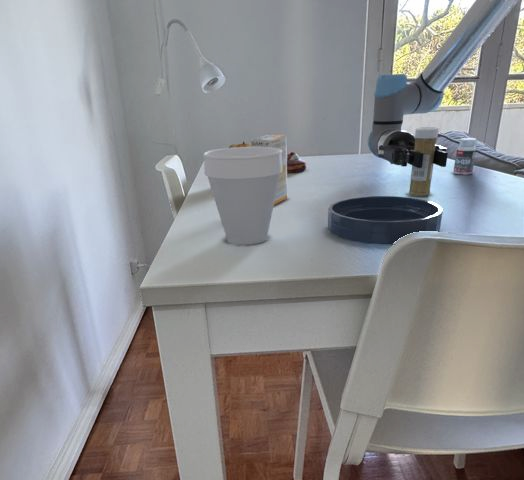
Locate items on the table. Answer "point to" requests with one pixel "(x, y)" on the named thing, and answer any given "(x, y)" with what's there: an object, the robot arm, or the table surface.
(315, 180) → the table surface
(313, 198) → the table surface
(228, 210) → the white flower pot
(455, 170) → the pill bottle
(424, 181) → the sprinkles bottle
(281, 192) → the supplement box
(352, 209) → the dark blue round dish
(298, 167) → the pastry
